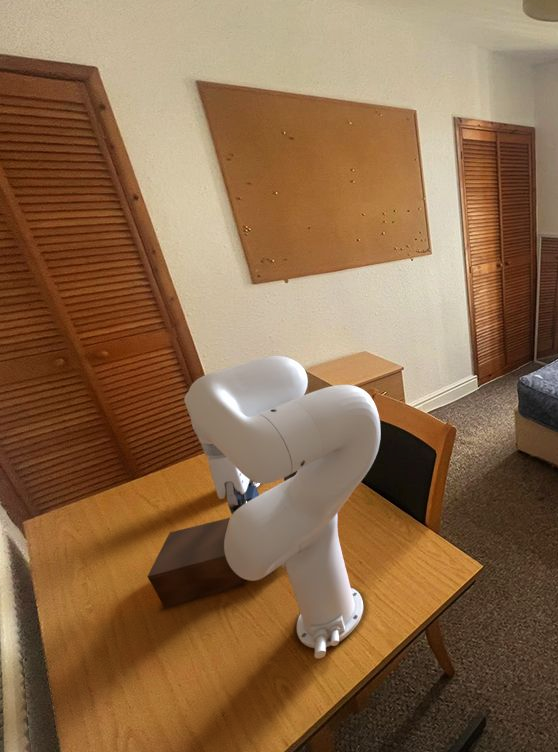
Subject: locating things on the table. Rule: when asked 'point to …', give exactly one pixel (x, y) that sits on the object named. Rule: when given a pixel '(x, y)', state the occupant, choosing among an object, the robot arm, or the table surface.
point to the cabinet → (193, 565)
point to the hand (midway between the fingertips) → (247, 508)
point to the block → (248, 495)
